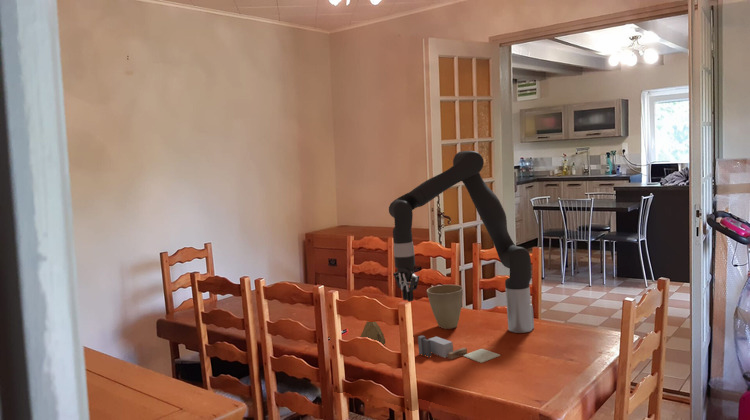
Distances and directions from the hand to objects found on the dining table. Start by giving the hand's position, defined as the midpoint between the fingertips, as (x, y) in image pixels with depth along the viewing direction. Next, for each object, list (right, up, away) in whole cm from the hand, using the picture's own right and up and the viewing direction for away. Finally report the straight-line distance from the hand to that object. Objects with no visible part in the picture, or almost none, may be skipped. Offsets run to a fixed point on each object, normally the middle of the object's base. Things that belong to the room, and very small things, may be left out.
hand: (408, 300), depth 209 cm
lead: (+12, -19, -4) cm, 23 cm away
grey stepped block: (+6, -19, -5) cm, 21 cm away
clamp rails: (+14, -18, -3) cm, 23 cm away
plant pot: (+18, -15, +26) cm, 35 cm away
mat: (+25, -18, -10) cm, 33 cm away
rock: (-13, -20, +12) cm, 26 cm away
